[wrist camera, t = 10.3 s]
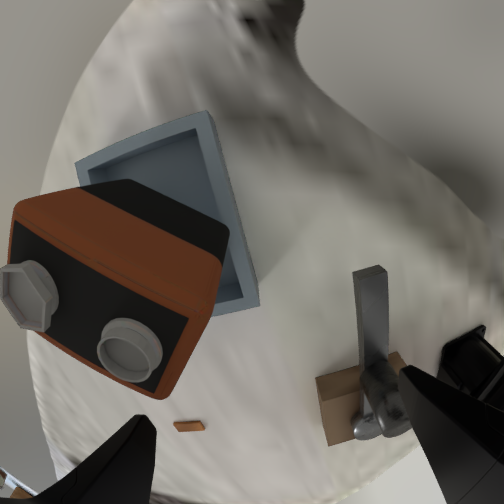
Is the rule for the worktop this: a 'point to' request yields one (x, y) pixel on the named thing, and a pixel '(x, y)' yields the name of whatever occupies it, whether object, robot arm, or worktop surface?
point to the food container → (2, 479)
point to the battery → (115, 278)
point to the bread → (20, 494)
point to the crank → (376, 361)
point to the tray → (185, 189)
